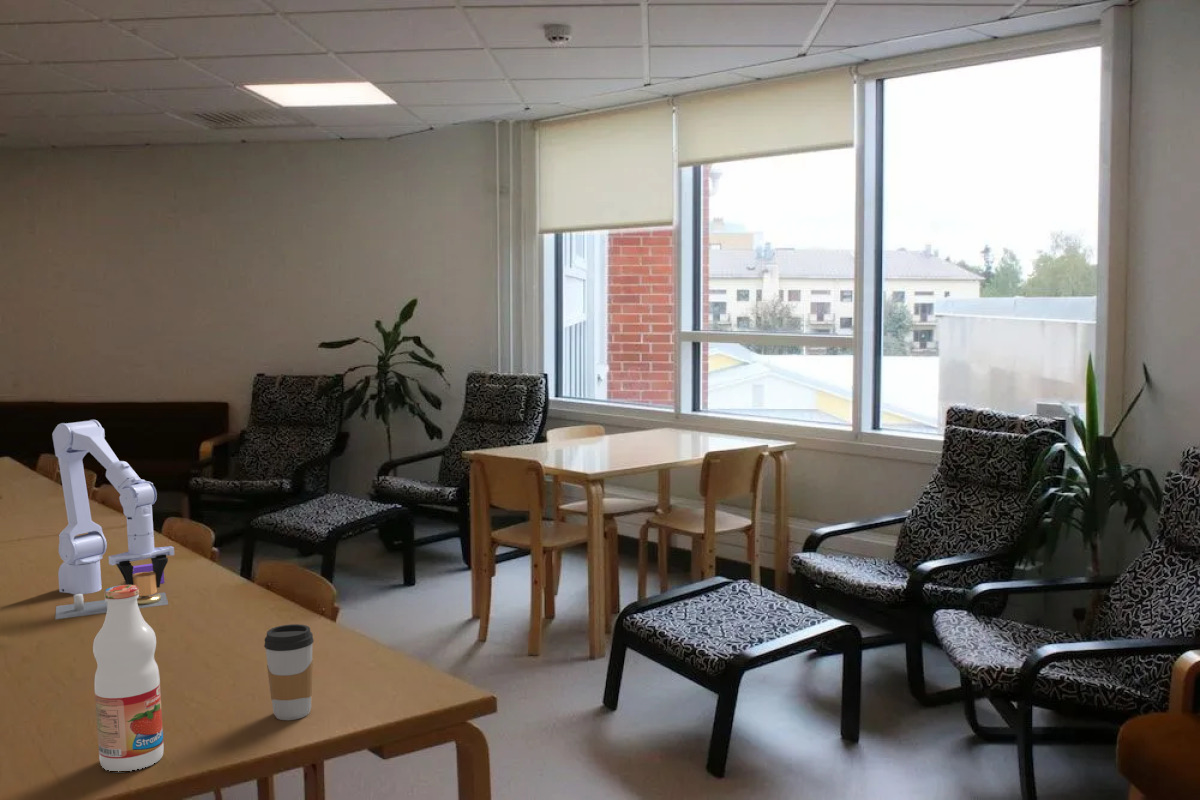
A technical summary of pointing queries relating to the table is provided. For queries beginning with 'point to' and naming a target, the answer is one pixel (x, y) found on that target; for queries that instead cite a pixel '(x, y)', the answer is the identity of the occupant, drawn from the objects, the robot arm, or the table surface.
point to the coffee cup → (290, 670)
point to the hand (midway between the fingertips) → (143, 589)
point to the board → (93, 607)
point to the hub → (148, 599)
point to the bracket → (146, 570)
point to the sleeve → (145, 583)
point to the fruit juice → (127, 686)
